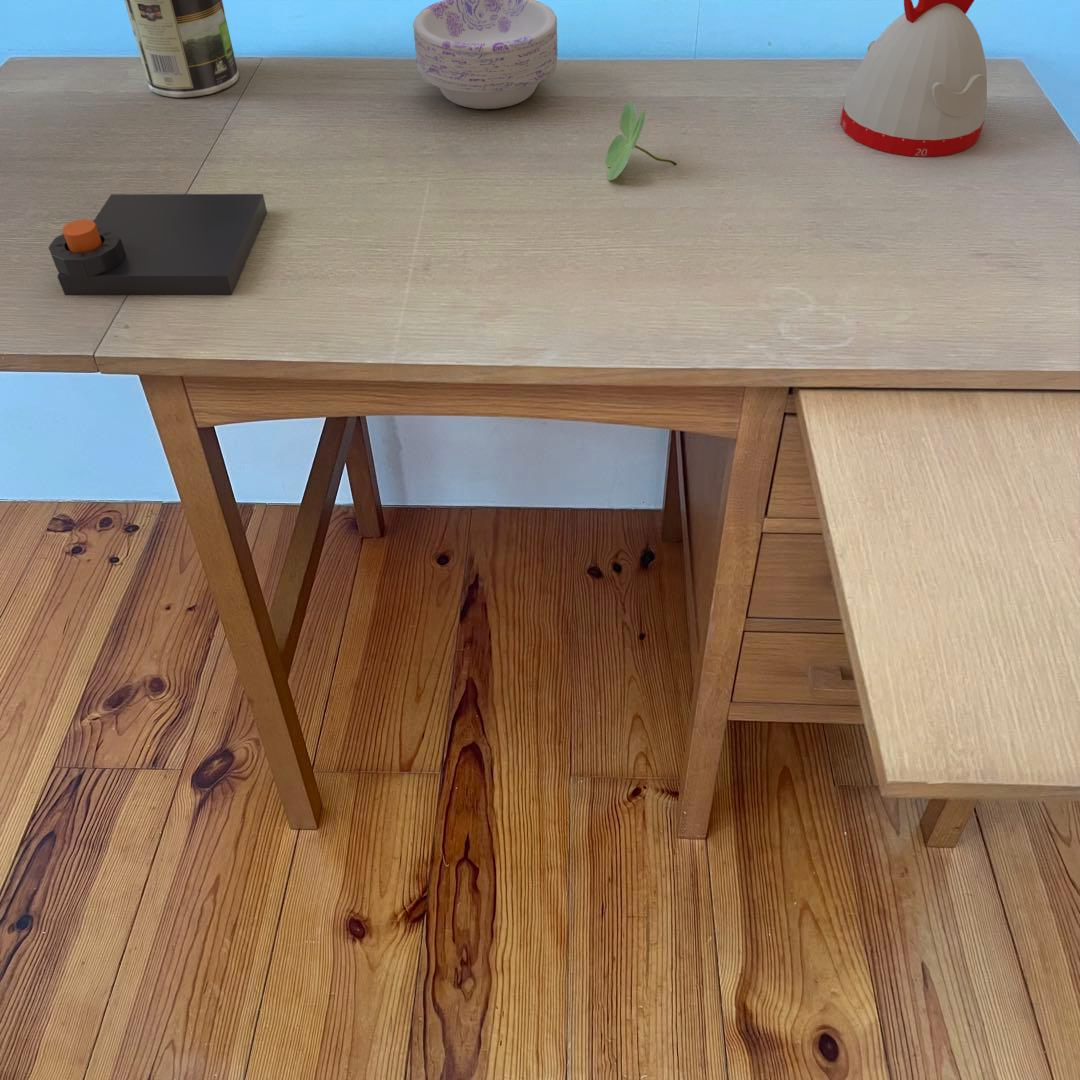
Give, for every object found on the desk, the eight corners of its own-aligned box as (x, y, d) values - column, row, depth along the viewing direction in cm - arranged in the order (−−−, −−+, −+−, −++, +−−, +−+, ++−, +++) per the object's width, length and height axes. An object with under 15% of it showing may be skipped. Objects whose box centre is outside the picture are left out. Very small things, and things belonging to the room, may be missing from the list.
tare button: (64, 254, 82) (57, 235, 81) (75, 238, 84) (68, 219, 82) (96, 254, 82) (89, 234, 81) (106, 238, 84) (99, 218, 82)
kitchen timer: (1007, 143, 101) (1061, -21, 90) (888, 166, 98) (929, -1, 87) (926, 91, 110) (966, -64, 99) (815, 110, 107) (844, -47, 96)
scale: (54, 297, 83) (39, 259, 81) (109, 213, 93) (97, 177, 91) (231, 297, 83) (221, 259, 80) (267, 213, 93) (259, 176, 90)
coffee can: (239, 59, 119) (210, -77, 109) (239, 93, 112) (208, -48, 102) (149, 67, 117) (111, -70, 107) (144, 102, 110) (102, -40, 100)
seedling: (644, 216, 101) (590, 189, 98) (662, 143, 102) (609, 113, 99) (686, 197, 95) (631, 167, 92) (705, 119, 96) (651, 87, 93)
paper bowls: (457, 134, 104) (451, 53, 98) (398, 83, 113) (389, 8, 108) (583, 102, 109) (584, 24, 103) (516, 57, 118) (514, -17, 113)
